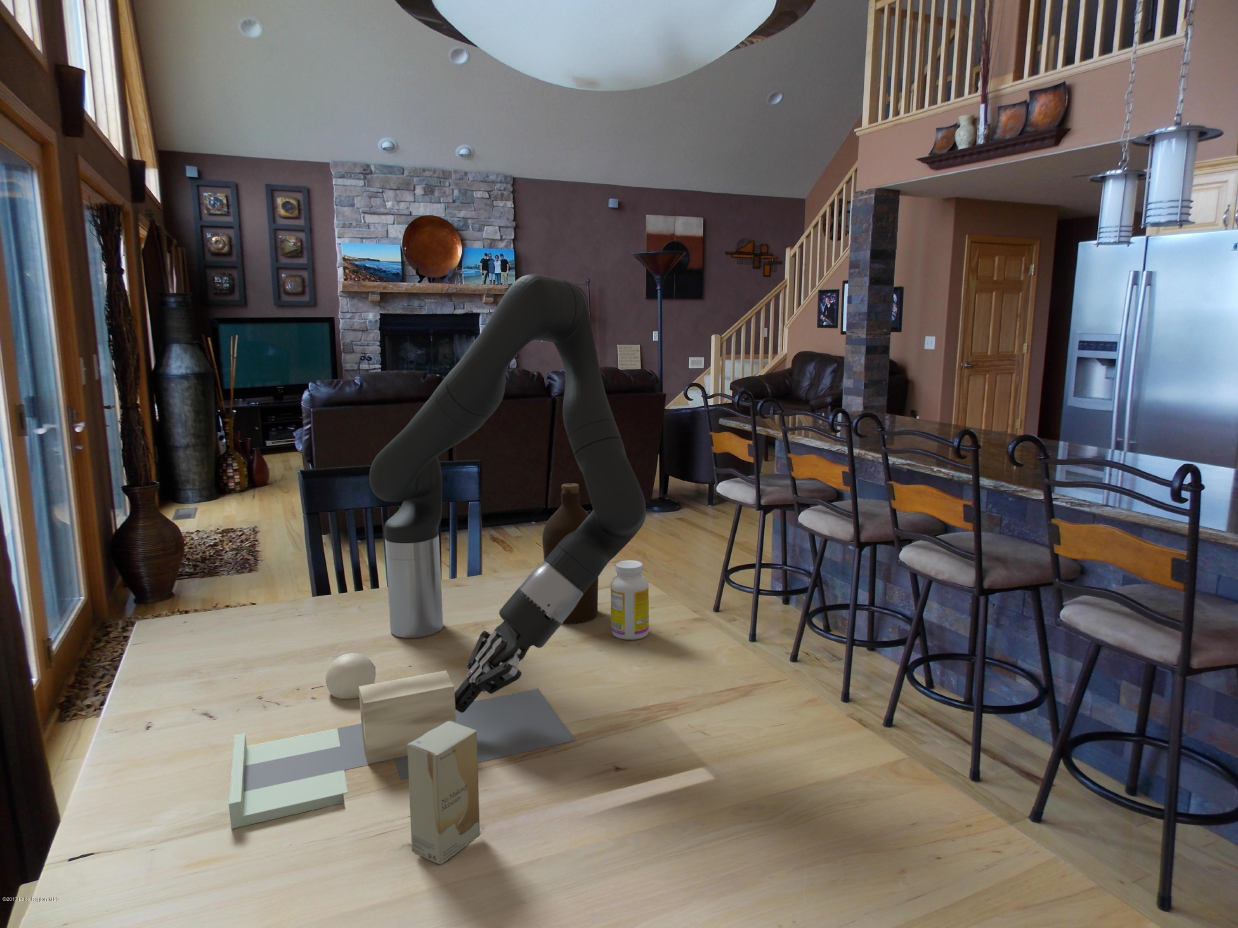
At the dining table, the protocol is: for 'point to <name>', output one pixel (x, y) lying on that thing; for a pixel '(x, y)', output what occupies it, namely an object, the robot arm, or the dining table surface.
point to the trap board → (316, 761)
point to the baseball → (349, 675)
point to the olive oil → (555, 531)
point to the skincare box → (443, 791)
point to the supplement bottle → (629, 601)
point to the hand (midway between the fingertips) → (455, 707)
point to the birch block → (403, 712)
